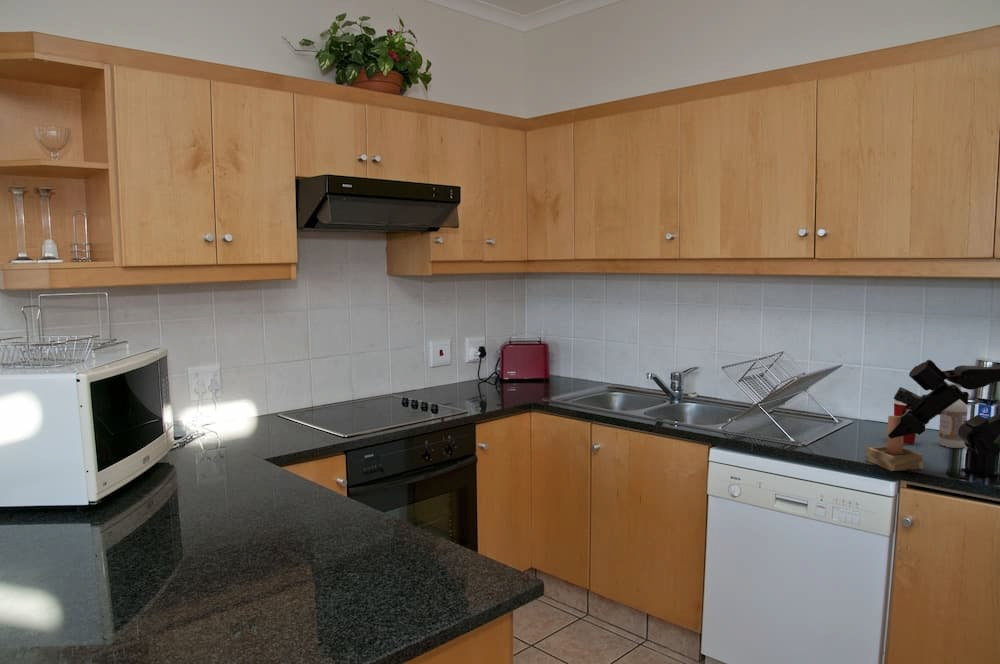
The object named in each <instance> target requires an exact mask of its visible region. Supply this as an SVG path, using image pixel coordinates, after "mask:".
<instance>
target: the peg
mask: <svg viewBox="0 0 1000 664" xmlns="http://www.w3.org/2000/svg"><path fill="white" fill-rule="evenodd" d="M900 422H901V416H894V415H888V417H887V434H886V435H887V436H886V437H887V438H886V446H887V453H886V454H889V455H891V456H898V455H902V454H903V448H904V444H903V436H899V437H895V438H890V437H889V436H888V435H889V434H890V433H891V432H892V430H893V429H894V428H895V427H896V426H897V425H898V424H899V423H900Z"/></svg>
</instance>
